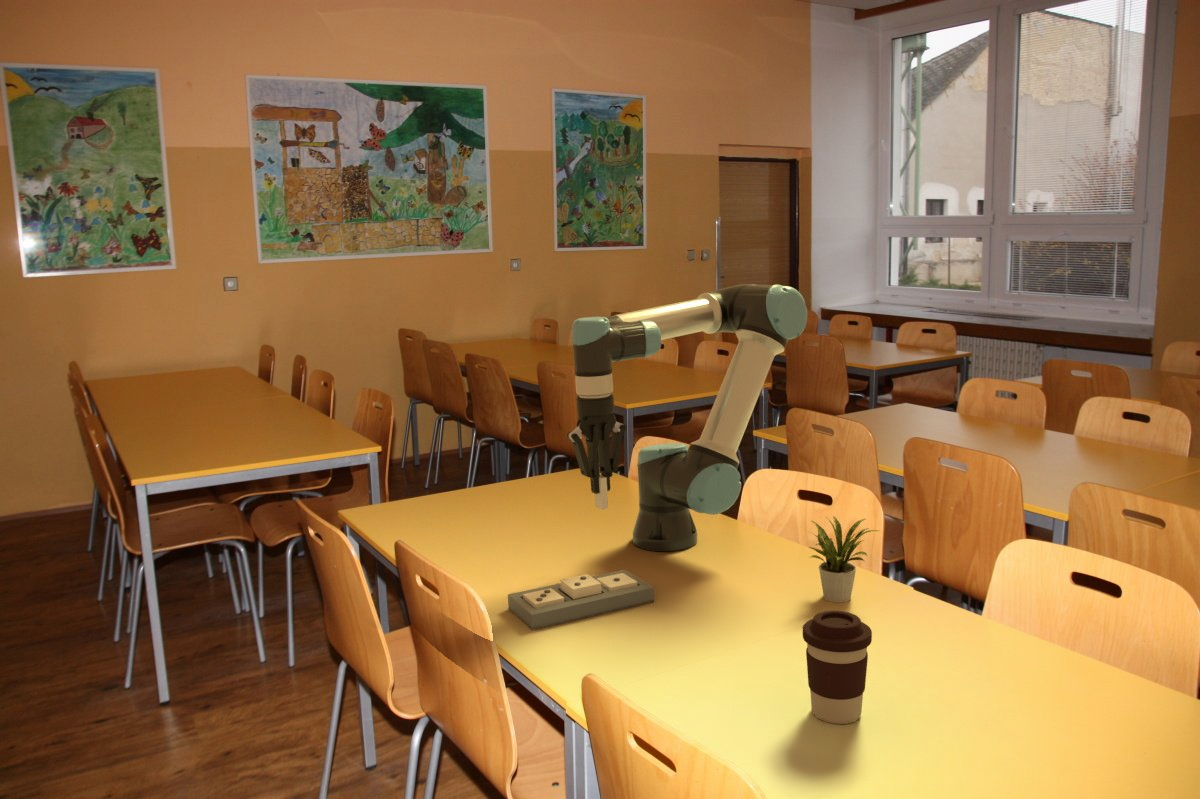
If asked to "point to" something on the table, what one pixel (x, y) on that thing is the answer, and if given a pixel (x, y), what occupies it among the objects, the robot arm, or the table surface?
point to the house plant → (838, 561)
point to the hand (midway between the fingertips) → (601, 507)
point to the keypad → (580, 603)
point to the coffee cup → (836, 664)
